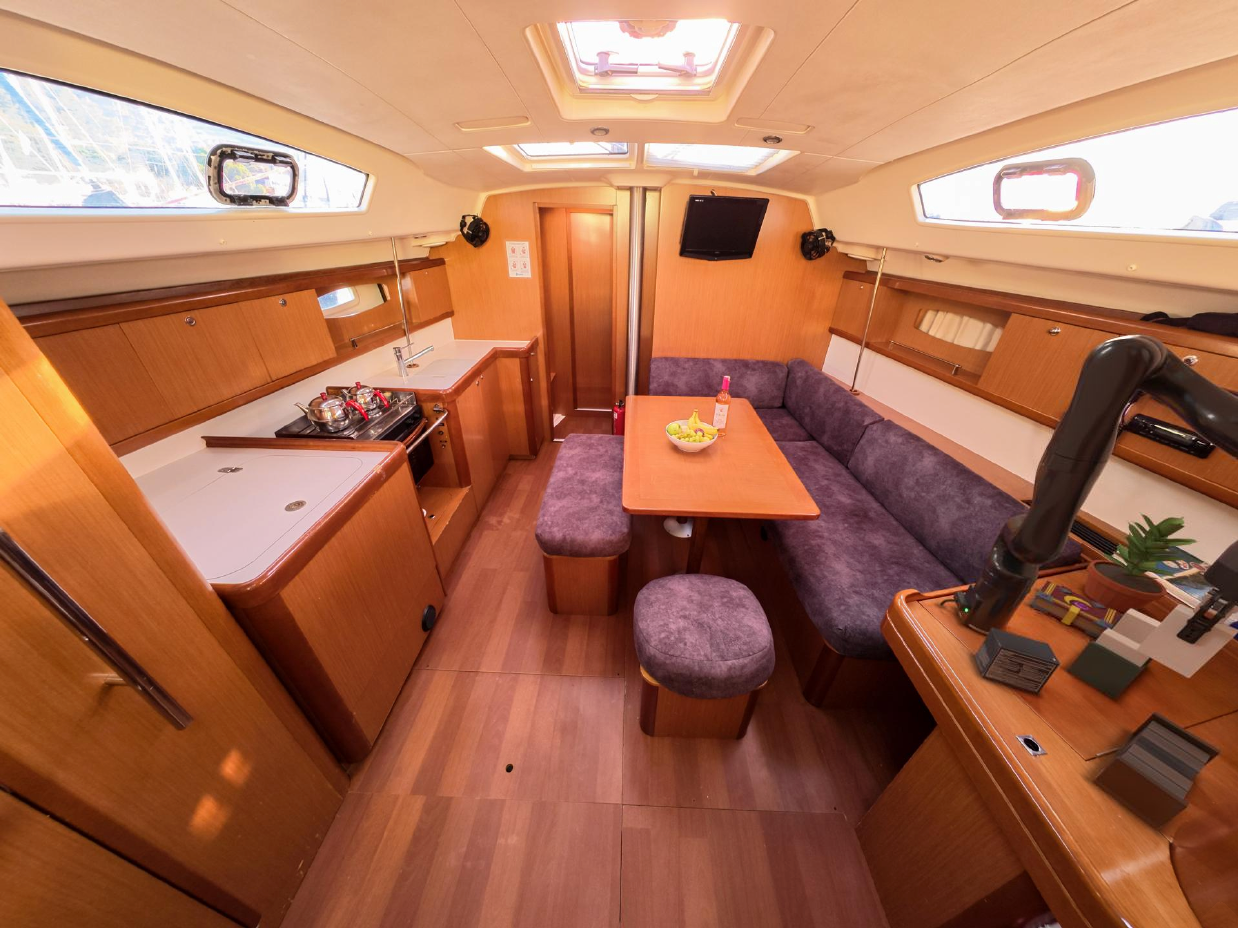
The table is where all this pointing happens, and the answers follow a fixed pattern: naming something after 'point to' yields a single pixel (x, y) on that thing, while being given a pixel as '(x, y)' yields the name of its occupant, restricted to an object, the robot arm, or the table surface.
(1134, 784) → the grey book rack
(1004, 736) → the table surface
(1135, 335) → the robot arm
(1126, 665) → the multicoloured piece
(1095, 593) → the potted plant
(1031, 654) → the small box
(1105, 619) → the decorative book
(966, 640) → the table surface
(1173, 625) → the white book
